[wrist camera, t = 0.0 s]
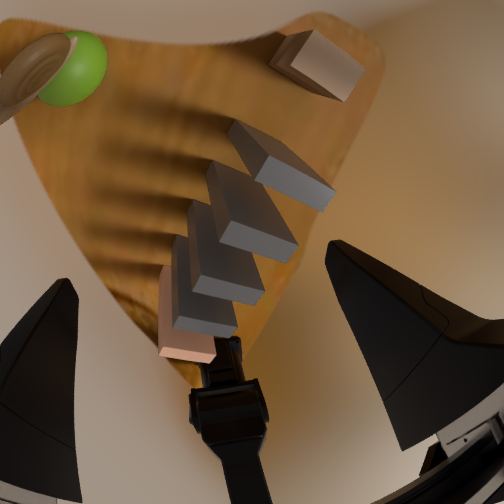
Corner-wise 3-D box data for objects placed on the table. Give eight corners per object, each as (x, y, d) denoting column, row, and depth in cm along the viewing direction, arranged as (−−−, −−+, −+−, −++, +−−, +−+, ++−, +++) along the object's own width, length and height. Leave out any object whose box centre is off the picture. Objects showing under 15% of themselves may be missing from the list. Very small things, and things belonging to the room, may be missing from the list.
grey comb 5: (273, 156, 22) (322, 212, 15) (226, 134, 20) (254, 180, 13) (282, 142, 22) (336, 191, 14) (235, 118, 20) (269, 155, 12)
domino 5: (199, 285, 29) (209, 363, 22) (159, 275, 27) (158, 355, 20) (204, 276, 28) (216, 354, 21) (163, 264, 26) (163, 346, 19)
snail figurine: (33, 82, 13) (-72, 118, 4) (90, 21, 12) (3, -7, 3) (69, 123, 16) (-19, 189, 7) (129, 65, 15) (64, 65, 6)
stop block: (313, 93, 19) (344, 102, 16) (267, 65, 17) (290, 65, 14) (331, 65, 18) (365, 69, 14) (286, 35, 16) (314, 29, 12)
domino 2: (251, 193, 24) (285, 263, 17) (205, 174, 22) (218, 241, 15) (259, 180, 23) (298, 245, 16) (212, 160, 21) (231, 220, 14)
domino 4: (213, 258, 27) (229, 338, 20) (171, 246, 25) (172, 328, 18) (219, 247, 27) (237, 327, 19) (177, 234, 25) (178, 315, 17)
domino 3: (231, 228, 26) (254, 305, 18) (186, 212, 24) (192, 291, 16) (238, 215, 25) (265, 291, 18) (193, 199, 23) (201, 274, 16)
